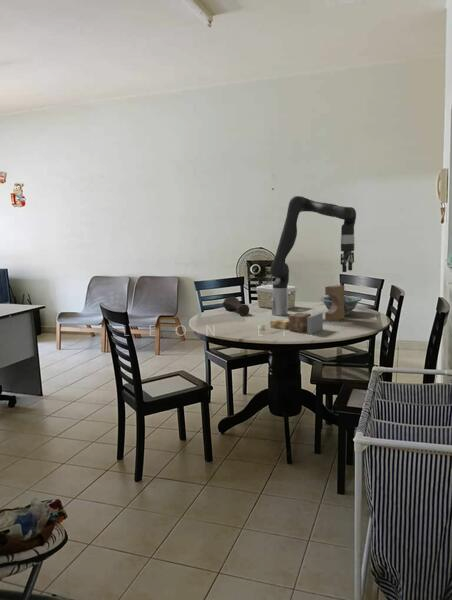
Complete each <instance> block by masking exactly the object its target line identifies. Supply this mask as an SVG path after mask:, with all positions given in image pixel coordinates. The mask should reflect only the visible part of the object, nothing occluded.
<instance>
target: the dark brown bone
mask: <svg viewBox="0 0 452 600" xmlns="http://www.w3.org/2000/svg"><path fill="white" fill-rule="evenodd" d="M222 305H223V307H224V309H225V310H226V311H230V310H236V311H237V313H238V314H239V315H241V316H247V315H248V314H249V313H250V306H248V304H244V303H241V302H240V300H239V299H238V298H237V297H236V296H233V295H232V296H229V297H226V298H225V299H224V300H223V302H222Z"/></svg>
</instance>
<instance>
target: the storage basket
mask: <svg viewBox="0 0 452 600" xmlns="http://www.w3.org/2000/svg"><path fill="white" fill-rule="evenodd" d="M287 292H288V309H291V308H294V307H295V306H296V292H297V287H296V286H293V285H287ZM256 294H257V303H258V307H259V308H266V309H272V299H273V284H264V285H263V284H262V285H259V286H256Z"/></svg>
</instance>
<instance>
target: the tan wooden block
mask: <svg viewBox="0 0 452 600" xmlns="http://www.w3.org/2000/svg"><path fill="white" fill-rule="evenodd" d="M269 324H270V328H274V329H282V330H289V320H281V319H272V320H271V319H270V322H269Z"/></svg>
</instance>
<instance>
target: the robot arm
mask: <svg viewBox="0 0 452 600" xmlns="http://www.w3.org/2000/svg"><path fill="white" fill-rule="evenodd" d="M303 212H312V213H316V214H320V215H322V216H326V217H332V218H336V219H340V220H343V224H342V225H341V228H340V229H341V230H340V231H341V233H340V234H341V235H340V252H343V253H340V265H341V268H342V270H341V271H342V272H343V273H346V272H348V271H350V272H352V271H353V265H354V264H353V263H355V224H356V220H357V211H356V209H355V208H354V207H351V206H341V205H337V204H335V203H334V204H333V203H328V202H319V201H315V200H312V199H309V198H306V197H304V196H302V195H301V196H299V195H294V196H292V197H291V198H290V200H289V202H288V207H287V212H286V218H285V221H284V223H283V224H284V225H283V228H282V231H281V235H280V238H279V242H278V245H277V247H276V249H277V250H276V252H275V255H274V258H273V260H272V263H271V265H270V269H269V270H270V271H269V272H270V275H271V276H272V277H273V278H275V280H274V282H273V283H272V285H273V299H272V308H271V315H274V316H287V315H288V312H289V310H288V292H287V286H289V281H290V279H289V277H290V269H289V264H288V263H286V259H287V257H288V255H289V253H290V252H291V250H292V249H293V248H294V245H295V244H296V243H295V242H296V240H297V236H298V225H297V223H298V218H299V215H300V213H303ZM347 270H348V271H347Z"/></svg>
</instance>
